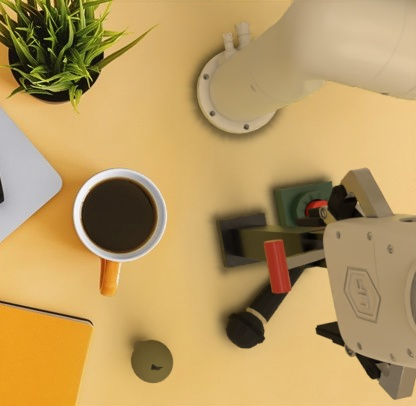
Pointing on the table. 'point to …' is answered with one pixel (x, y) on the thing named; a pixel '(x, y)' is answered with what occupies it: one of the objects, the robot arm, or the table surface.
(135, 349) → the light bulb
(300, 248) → the switch pillar
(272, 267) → the switch lever
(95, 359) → the table surface
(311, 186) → the button box
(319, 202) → the button
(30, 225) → the table surface
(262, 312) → the microphone
